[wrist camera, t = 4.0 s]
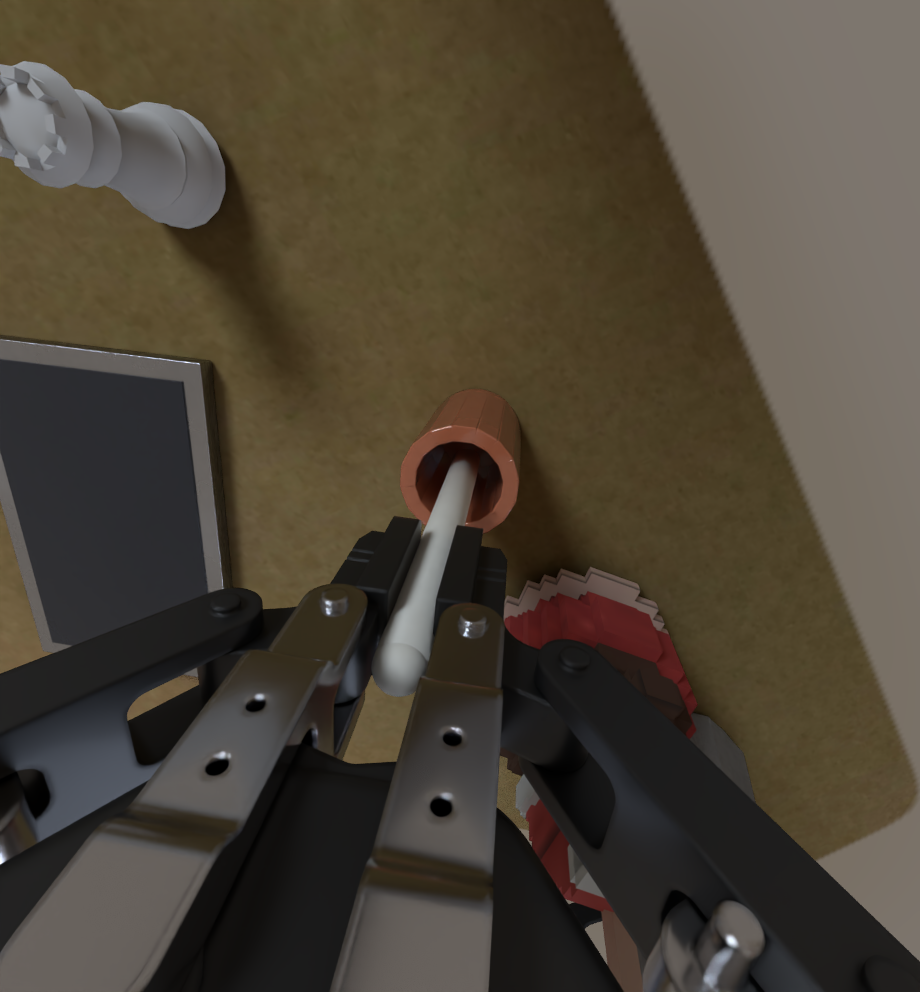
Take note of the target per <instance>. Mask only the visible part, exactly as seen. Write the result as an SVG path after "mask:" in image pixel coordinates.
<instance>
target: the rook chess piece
mask: <svg viewBox="0 0 920 992" xmlns="http://www.w3.org/2000/svg"><path fill="white" fill-rule="evenodd" d="M0 72H1V75H0V156H2V157H6V158H10V159H12V160H13V161H14V162H15V166H18V167H19V168H20V169H21V171H22V172H23V173H24V174H26V175H27V176H29V177H30V178H32V179H34V180H35V181H37V182H38V183H40V184H42V185H45V186H51V187H57V188H63V187H66V186H69V185H72V184H75V183H77V184H78V185H80V186H85V187H91V188H97V187H100V186H103V185H105V186H107V187H110V188H112V189H114V190H117V191H119V192H121V194H122V195H123V196H124V197H125V198H126V199H128V200H129V202H130V203H131V204H132V205H133V207H135V208H136V209H138V210H139V211H141V212H142V213H144V214H145V215H147V216H149V217H150V218H152V219H153V220H155V221H157V222H161V223H166V224H168V225H170V226H174V227H180V228H186V229H190V228H193V227H197V226H200V225H203V224H206V223H207V222H208V221H209V220H210V219H211V218H212V216H213V215H214V214H215V213H216V212H217V211H218V210H219V208H220V205H221V202H222V199H223V196H224V193H225V166H224V163H223V160H222V157H221V154H220V151H219V148H218V145H217V143H216V141H215V140H214V139H213V137H212V136H211V135H210V133H209V132H208V131H207V129H206V128H205V127H204V125H203V124H202V123H201V122H200V121H198V120H197V119H195V118H194V117H192V116H191V115H189V114H188V113H186V112H185V111H183V110H178V109H173V108H172V107H170V106H169V105H163V104H157V103H151V102H142V103H139V104H136V105H134V106H131V107H129V108H126V109H124V110H121V111H119V110H114V109H110V108H106V107H104V106H103V105H102V103H101V102H100V101H99V100H97V99H96V98H94V97H93V96H91V95H90V94H88V93H87V92H85V91H82V90H76V89H73V88H72V86H71V85H70V84H69V83H68V81H67V80H66V79H65V78H64V77H63V76H61V75H60V74H58V73H57V72H55V71H54V70H52V69H51V68H49V67H48V66H46V65H45V64H39V63H33V62H26V61H23V62H21V63H19V64H16V65H14V66H6V65H0Z"/></svg>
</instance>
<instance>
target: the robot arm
mask: <svg viewBox="0 0 920 992" xmlns="http://www.w3.org/2000/svg"><path fill="white" fill-rule="evenodd" d="M482 536H483V528H476V527H469V526H462V525H457V526H456V530H455V533H454V537H453V540H452V544H451V548H450V551H449V555H448V558H447V562H446V565H445V569H444V572H443V576H442V579H441V583H440V587H439V590H438V594H437V597H436V605H435V616H434V626H433V635H434V637H435V639H434V642H433V646H432V650H431V654H430V658H429V662H428V665H427V669H426V673H425V676H421V677H420V679H419V682H418V685H417V689H416V693H415V696H414V700H413V704H412V707H411V711H410V715H409V719H408V722H407V726H406V730H405V733H404V737H403V741H402V744H401V748H400V752H399V755H398V759H397V762H382V763H365V764H351V763H347V762H344V761H342V760H343V757H344V755H345V752H346V749H347V747H348V744H349V741H350V739H351V736H352V733H353V731H354V728H355V726H356V723H357V720H358V718H359V715H360V712H361V710H362V707H363V704H364V701H365V688H366V687H367V684H368V682H369V679H370V677H371V675H372V660H373V657H374V654H375V651H376V649H377V647H378V644H379V642H380V639H381V637H382V634H383V632H384V629H385V627H386V626H387V624H388V621H389V619H390V616H391V614H392V611H393V609H394V606H395V604H396V601H397V599H398V596H399V594H400V591H401V589H402V586H403V584H404V581H405V579H406V576H407V574H408V571H409V569H410V566H411V564H412V561H413V559H414V556H415V554H416V551H417V549H418V546H419V544H420V541H421V520H419V519H412V518H404V517H397V516H394V517H393V519H392V520H391V522H390V524H389V526H388V528H387V529H386V531H385V533H384V532H377V531H371V532H370V533H368V534H366V535H365V536H363V537H361V538H360V539H359V540H358V541H357V543H356V544H355V546H354V547H353V549H352V551H351V552H350V554H349V555H348V557H347V560H345V562H344V563H343V565H342V566H341V568H340V569H339V571H338V572H337V574H336V576H335V577H334V579H333V580H332V582H331V583H330V584H327V585H322V586H319V587H317V588H314V589H313V590H311V591H309V592H308V593H307V594H306V595H305V596H304V597H303V599H302V600H301V602H300V603H299V605H298V606H297V607H291V608H278V609H263V605H262V599H261V597H260V596H259V595H258V594H257V593H255V592H253V591H251V590H248V589H243V588H226V589H220V590H216V591H213V592H210V593H208V594H205V595H202V596H200V597H197V598H195V599H192V600H189V601H187V602H184V603H182V604H179V605H177V606H174V607H171V608H169V609H166V610H164V611H161V612H159V613H156V614H153V615H151V616H148V617H146V618H143V619H140V620H138V621H135V622H133V623H130V624H128V625H125V626H122V627H120V628H117V629H115V630H112V631H109V632H107V633H104V634H102V635H99V636H97V637H94V638H91V639H89V640H86V641H84V642H81V643H79V644H76V645H73V646H71V647H68V648H66V649H63V650H60V651H58V652H55V653H53V654H50V655H48V656H45V657H42V658H40V659H37V660H35V661H32V662H29V663H27V664H24V665H22V666H19V667H17V668H14V669H11V670H9V671H6V672H4V673H1V674H0V992H624V991H623V989H622V987H621V986H620V984H619V983H618V981H617V980H616V978H615V976H614V975H613V973H612V972H611V970H610V969H609V967H608V965H607V964H606V963H605V961H604V959H603V958H602V956H601V955H600V953H599V951H598V950H597V948H596V947H595V945H594V944H593V942H592V940H591V939H590V937H589V936H588V934H587V933H586V931H585V929H584V928H583V926H582V925H581V923H580V922H579V920H578V918H577V917H576V915H575V914H574V912H573V911H572V909H571V907H570V906H569V904H568V903H567V901H566V900H565V898H564V896H563V895H562V893H561V892H560V890H559V889H558V887H557V886H556V884H555V882H554V881H553V879H552V878H551V876H550V875H549V873H548V871H547V870H546V868H545V867H544V865H543V864H542V862H541V860H540V859H539V857H538V856H537V854H536V853H535V851H534V849H533V848H532V846H531V845H530V843H529V842H528V840H527V839H526V838H525V836H524V835H523V834H522V833H521V831H520V830H519V829H518V828H517V826H516V825H515V824H514V823H513V822H512V821H511V820H510V819H509V818H508V817H507V816H506V815H505V814H504V813H503V812H502V811H501V810H500V809H498V808H497V791H498V775H499V758H500V747H501V748H503V749H506V750H508V751H510V752H512V753H514V754H516V755H518V761H519V765H520V768H521V770H522V772H523V774H524V775H525V777H526V778H527V780H528V781H529V783H530V784H531V786H532V787H533V789H534V791H535V792H536V794H537V795H538V797H539V798H540V800H541V801H542V803H543V804H544V806H545V807H546V809H547V810H548V812H549V813H550V815H551V816H552V818H553V819H554V821H555V823H556V824H557V826H558V827H559V829H560V830H561V832H562V833H563V835H564V836H565V838H566V839H567V841H568V842H569V844H570V845H571V847H572V848H573V850H574V851H575V853H576V855H577V856H578V858H579V859H580V861H581V862H582V864H583V865H584V867H585V868H586V870H587V871H588V873H589V874H590V876H591V877H592V879H593V880H594V882H595V883H596V885H597V887H598V888H599V890H600V891H601V893H602V894H603V896H604V897H605V899H606V900H607V902H608V903H609V905H610V906H611V908H612V909H613V911H614V912H615V914H616V915H617V917H618V919H619V920H620V922H621V923H622V925H623V926H624V928H625V929H626V931H627V932H628V934H629V935H630V937H631V938H632V940H633V941H634V943H635V944H636V946H637V947H638V949H639V951H640V952H641V954H642V955H643V957H644V958H645V960H646V964H645V966H644V971H643V983H642V986H643V992H920V962H919V960H917V959H916V958H915V957H914V956H913V955H912V954H911V953H910V952H909V951H908V950H907V949H906V948H905V947H904V946H903V945H902V944H901V943H900V942H899V941H898V940H897V939H896V938H895V937H894V936H893V935H892V934H890V933H889V932H888V931H887V930H886V929H885V928H884V927H883V926H882V925H881V924H880V923H879V922H878V921H877V920H876V919H875V918H874V917H873V916H872V915H871V914H870V913H869V912H868V911H867V910H866V909H864V907H863V906H862V905H860V904H859V903H858V902H857V901H856V900H855V899H854V898H853V897H852V896H851V895H850V894H849V893H848V892H847V891H846V890H845V889H844V888H843V887H842V886H841V885H840V884H839V883H838V882H837V881H835V880H834V879H833V877H831V876H830V875H829V874H828V873H827V872H826V871H825V870H824V869H823V868H822V867H821V866H820V865H819V864H818V863H817V862H816V861H815V860H814V859H813V858H812V857H811V856H810V855H809V854H808V853H807V852H806V851H805V850H803V849H802V848H801V847H800V846H799V845H798V844H797V843H796V842H795V841H794V840H793V839H792V838H791V837H790V836H789V835H788V834H787V833H786V832H785V831H784V830H783V829H782V828H781V827H780V826H779V825H778V824H777V823H776V822H774V821H773V820H772V819H771V818H770V817H769V816H768V815H767V814H766V813H765V812H764V811H763V810H762V809H761V808H760V807H759V806H758V805H757V804H756V803H755V802H754V801H753V800H752V799H751V798H750V797H749V796H748V795H747V794H745V793H744V792H743V791H742V790H741V789H740V788H739V787H738V786H737V785H736V784H735V783H734V782H733V781H732V780H731V779H730V778H729V777H728V776H727V775H726V774H725V773H724V772H723V771H722V770H721V769H720V768H719V767H717V766H716V765H715V764H714V763H713V762H712V761H711V760H710V759H709V758H708V757H707V756H706V755H705V754H704V753H703V752H702V751H701V750H700V749H699V748H698V747H697V746H696V745H695V744H694V743H693V742H692V741H691V740H690V739H688V738H687V737H686V736H685V735H684V734H683V733H682V732H681V731H680V730H679V729H678V728H677V727H676V726H675V725H674V724H673V723H672V722H671V721H670V720H669V719H668V718H667V717H666V716H665V715H664V714H663V713H662V712H661V711H659V710H658V709H657V708H656V707H655V706H654V705H653V704H652V703H651V702H650V701H649V700H648V699H647V698H646V697H645V696H644V695H643V694H642V693H641V692H640V691H639V690H638V689H637V688H636V687H635V686H634V685H633V684H632V683H630V682H629V681H628V680H627V679H626V678H625V677H624V676H623V675H622V674H621V673H620V672H619V671H618V670H617V669H616V668H615V667H614V666H613V665H612V664H611V663H610V662H609V661H608V660H607V659H606V658H605V657H604V656H602V655H601V654H600V653H599V652H598V651H597V650H595V649H594V648H592V647H591V646H589V645H587V644H585V643H582V642H579V641H576V640H570V639H556V640H552V641H549V642H547V643H545V644H544V645H543V646H542V647H541V648H540V650H539V649H537V648H534V647H532V646H529V645H527V644H525V643H523V642H521V641H519V640H518V639H517V638H515V637H514V636H513V635H512V634H511V633H510V632H509V631H508V630H507V628H506V626H505V624H504V603H505V588H506V572H507V559H506V557H505V556H504V554H503V552H502V551H501V549H497V548H490V547H483V546H481V544H482ZM195 668H197V673H198V680H199V685H198V686H196V687H194V688H192V689H190V690H188V691H186V692H184V693H182V694H180V695H178V696H176V697H174V698H172V699H170V700H168V701H166V702H165V703H163V704H161V705H159V706H157V707H155V708H153V709H151V710H149V711H147V712H145V713H143V714H141V715H139V716H137V717H135V718H133V719H131V720H129V721H127V712H128V710H129V708H130V706H131V705H132V703H133V702H134V701H135V700H136V699H137V698H138V697H139V696H141V695H142V694H144V693H146V692H148V691H150V690H152V689H154V688H156V687H158V686H160V685H162V684H164V683H166V682H168V681H170V680H172V679H174V678H176V677H178V676H181V675H183V674H185V673H187V672H189V671H191V670H193V669H195Z"/></svg>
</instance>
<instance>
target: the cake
mask: <svg viewBox="0 0 920 992" xmlns="http://www.w3.org/2000/svg"><path fill="white" fill-rule="evenodd" d="M639 593H640V588H639V586H638V584H637V583H634V582H631V581H628V580H626V579H623V578H620V577H617V576H615V575H612V574H609V573H606V572H603V571H601V570H598V569H595V568H592V567H590V568H589V570H588V572H587V574H586V576H585V577H584V576H581V575H578V574H575V573H572V572H570V571H567V570H564V569H560V572H559V574H558V576H557V578H553V577H551V576H548V575H545V574H544V576H543V578H542V580H541V582H540V584H538V583H535V582H532V581H529V580H528V581H527V583H526V585H525V587H524V589H523V591H522V594H521V596H520V598H519V599H516V598H513V597H511V596H508V595H507V597H506V599H505V603H504V624H505V626H506V628H507V630H508V631H509V632H510V633H511V634H512V635H513V636H514V637H515V638H517V639H518V640H519V641H521V642H523V643H525V644H527V645H529V646H532V647H534V648H537V649H539V650H540V648H541V647H542V646H543V645H544V644H545V643H547V642H549V641H552V640H556V639H570V640H576V641H579V642H582V643H585V644H587V645H589V646H591V647H592V648H594V649H595V650H597V651H598V652H599V653H600V654H601V655H602V656H604V657H605V658H606V659H607V660H608V661H609V662H610V663H611V664H612V665H613V666H614V667H615V668H616V669H617V670H618V671H619V672H620V673H621V674H622V675H623V676H624V677H625V678H626V679H627V680H628V681H629V682H630V683H632V684H633V685H634V686H635V687H636V688H637V689H638V690H639V691H640V692H641V693H642V694H643V695H644V696H645V697H646V698H647V699H648V700H649V701H650V702H651V703H652V704H653V705H654V706H655V707H656V708H657V709H658V710H659V711H661V712H662V713H663V714H664V715H665V716H666V717H667V718H668V719H669V720H670V721H671V722H672V723H673V724H674V725H675V726H676V727H677V728H678V729H679V730H680V731H681V732H682V733H683V734H684V735H685V736H686V737H687V738H688V739H690V738H691V737H692V736H693V734H694V733H695V732H696V727H695V725H694V722H693V719H692V717H691V713H692V712H693V711H694V709H695V708H696V707H697V705H698V704H697V702H696V699H695V697H694V695H693V692H692V690H691V687H690V685H689V682H688V680H687V677H686V675H685V672H684V670H683V668H682V665H681V663H680V660H679V658H678V656H677V653H676V651H675V649H674V646H673V644H672V641H671V639H670V636H669V633H668V631H667V630H666V629H663V628H662V627H663V626H664V621H663V619H662V616H659V615H657V614H656V613H657V612H658V610H659V609H658V607H657V604H656V602H653V601H651V600H648V599H645V598H642V597H639V596H638V594H639ZM500 756H503V757H506V758H508V763H507V769H508V770H511V771H512V773H515V774H517V775H520V776H522V777H521V779H520V781H519V783H518V784H517V786H516V808H518V809H519V811H520V815H521V816H523V818H525V819H526V821H528V822H529V840H530V841H532V848H533V849H534V851H535V853H536V854H537V856H538V857H539V859H540V860H541V862H542V864H543V865H544V867H545V868H546V870H547V871H548V873H549V875H550V876H551V878H552V879H553V881H554V882H555V884H556V886H557V887H558V889H559V890H560V892H561V893H562V895H563V896H564V898H565V899H567V900H570V901H573V902H576V903H578V904H581V905H584V906H587V907H590V908H593V909H596V910H599V911H601V913H602V921H603V929H604V938H605V945H606V954H607V963H608V967H609V969H610V970H611V972H612V973H613V975H614V976H615V978H616V980H617V981H618V983H619V984H620V986H621V987H622V989H623V991H624V992H643V986H642V983H643V982H642V976H641V970H640V964H639V958H638V952H637V946H636V944H635V943H634V941H633V940H632V938H631V937H630V935H629V934H628V932H627V931H626V929H625V928H624V926H623V925H622V923H621V922H620V920H619V919H618V917H617V915H616V914H615V912H614V911H613V909H612V908H611V906H610V905H609V903H608V902H607V900H606V899H605V897H604V896H603V894H602V893H601V891H600V890H599V888H598V887H597V885H596V883H595V882H594V880H593V879H592V877H591V876H590V874H589V873H588V871H587V870H586V868H585V867H584V865H583V864H582V862H581V861H580V859H579V858H578V856H577V855H576V853H575V851H574V850H573V848H572V847H571V845H570V844H569V842H568V841H567V839H566V838H565V836H564V835H563V833H562V832H561V830H560V829H559V827H558V826H557V824H556V823H555V821H554V819H553V818H552V816H551V815H550V813H549V812H548V810H547V809H546V807H545V806H544V804H543V803H542V801H541V800H540V798H539V797H538V795H537V794H536V792H535V791H534V789H533V787H532V786H531V784H530V783H529V781H528V780H527V778H526V777H525V775H524V774H523V772H522V770H521V768H520V765H519V761H518V755H516V754H514V753H512V752H510V751H508V750H506V749H503V748H501V747H500Z"/></svg>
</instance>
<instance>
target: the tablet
mask: <svg viewBox="0 0 920 992" xmlns="http://www.w3.org/2000/svg"><path fill="white" fill-rule="evenodd" d="M0 501H1V505H2V508H3V512H4V516H5V519H6V523H7V526H8V530H9V533H10V537H11V540H12V544H13V547H14V551H15V554H16V558H17V561H18V565H19V568H20V572H21V575H22V579H23V582H24V586H25V589H26V593H27V596H28V600H29V603H30V607H31V610H32V614H33V617H34V621H35V624H36V628H37V631H38V635H39V638H40V642H41V645H42V649H43V651H46V652H52V653H55V652H58V651H60V650H63V649H66V648H68V647H71V646H73V645H76V644H79V643H81V642H84V641H86V640H89V639H91V638H94V637H97V636H99V635H102V634H104V633H107V632H109V631H112V630H115V629H117V628H120V627H122V626H125V625H128V624H130V623H133V622H135V621H138V620H140V619H143V618H146V617H148V616H151V615H153V614H156V613H159V612H161V611H164V610H166V609H169V608H171V607H174V606H177V605H179V604H182V603H184V602H187V601H189V600H192V599H195V598H197V597H200V596H202V595H205V594H208V593H210V592H213V591H216V590H220V589H226V588H233V586H232V576H231V565H230V554H229V544H228V533H227V523H226V512H225V501H224V491H223V480H222V470H221V459H220V448H219V438H218V427H217V417H216V406H215V395H214V385H213V374H212V364H211V361H210V360H202V359H194V358H185V357H177V356H169V355H161V354H152V353H144V352H136V351H128V350H119V349H111V348H103V347H95V346H86V345H78V344H70V343H62V342H54V341H45V340H37V339H29V338H21V337H12V336H4V335H0ZM183 675H188V676H194V677H198V673H197V668H195V669H193V670H191V671H189V672H187V673H185V674H183Z"/></svg>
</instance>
